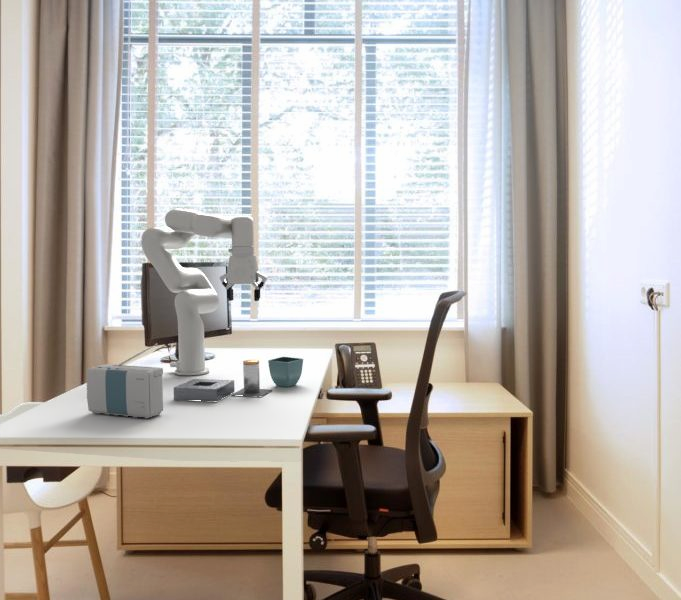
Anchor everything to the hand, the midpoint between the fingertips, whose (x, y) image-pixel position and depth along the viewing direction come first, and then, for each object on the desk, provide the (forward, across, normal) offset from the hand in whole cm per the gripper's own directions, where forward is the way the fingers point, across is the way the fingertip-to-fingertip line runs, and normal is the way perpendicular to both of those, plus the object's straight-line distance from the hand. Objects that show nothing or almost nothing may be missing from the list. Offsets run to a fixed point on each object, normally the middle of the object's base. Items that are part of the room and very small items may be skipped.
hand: (243, 300), depth 219 cm
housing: (+28, -3, -27) cm, 39 cm away
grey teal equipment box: (+29, -15, -52) cm, 61 cm away
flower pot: (+28, +17, -6) cm, 34 cm away
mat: (+28, +10, -20) cm, 36 cm away
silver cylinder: (+28, +10, -20) cm, 36 cm away
